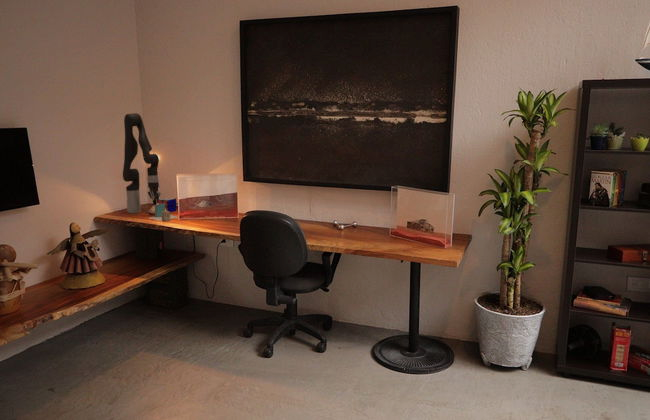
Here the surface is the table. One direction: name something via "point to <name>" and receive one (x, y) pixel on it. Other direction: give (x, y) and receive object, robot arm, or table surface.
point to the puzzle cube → (169, 203)
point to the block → (165, 215)
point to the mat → (161, 217)
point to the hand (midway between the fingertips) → (154, 204)
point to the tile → (159, 209)
